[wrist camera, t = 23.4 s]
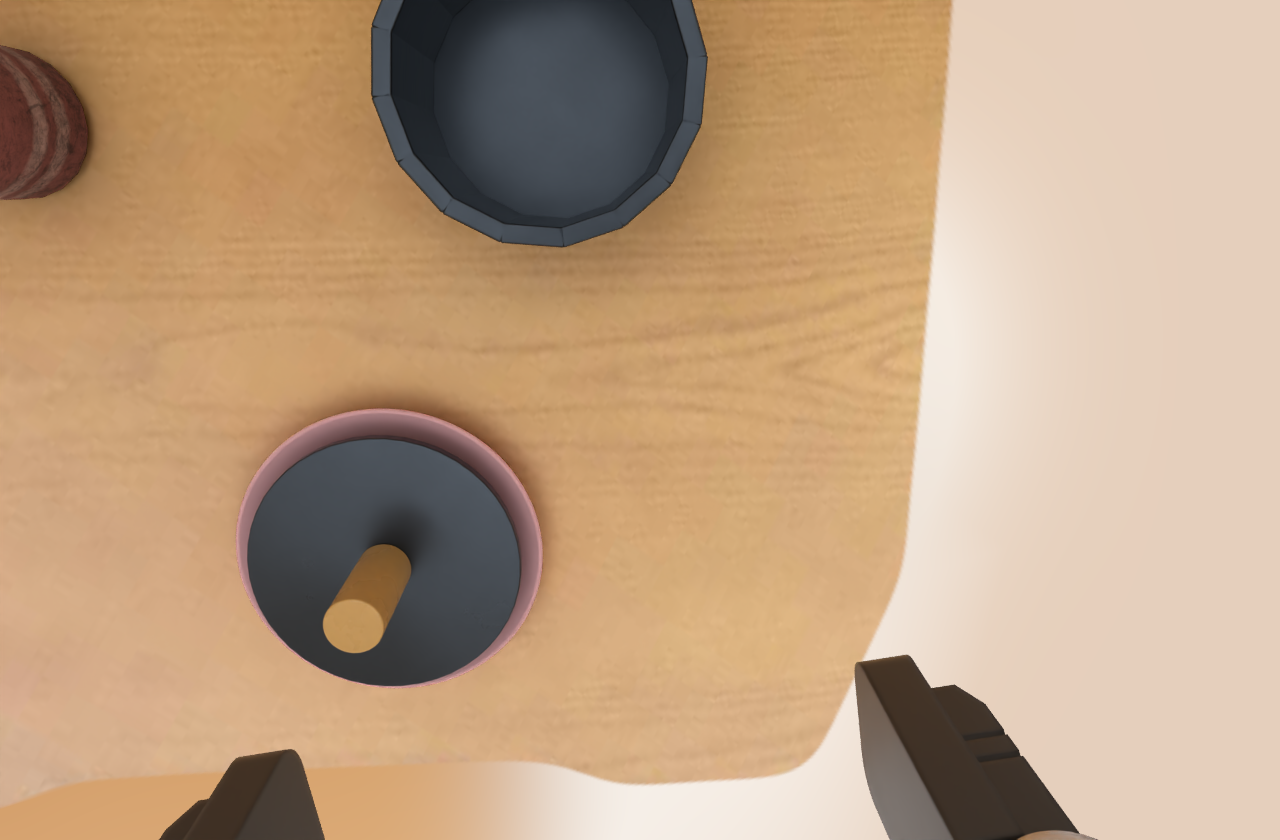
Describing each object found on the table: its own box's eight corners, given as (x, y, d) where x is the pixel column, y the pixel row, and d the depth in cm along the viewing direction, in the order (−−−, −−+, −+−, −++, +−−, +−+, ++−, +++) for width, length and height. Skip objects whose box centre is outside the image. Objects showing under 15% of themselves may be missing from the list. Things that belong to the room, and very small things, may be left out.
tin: (635, -84, 36) (646, -161, 28) (713, 185, 39) (744, 186, 31) (378, 6, 37) (316, -44, 29) (475, 265, 40) (444, 287, 32)
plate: (550, 661, 45) (548, 683, 43) (270, 672, 45) (256, 694, 43) (538, 394, 41) (535, 405, 40) (232, 402, 41) (214, 413, 39)
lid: (467, 395, 39) (442, 437, 33) (559, 628, 43) (552, 709, 36) (210, 479, 40) (136, 538, 33) (321, 704, 43) (273, 797, 37)
